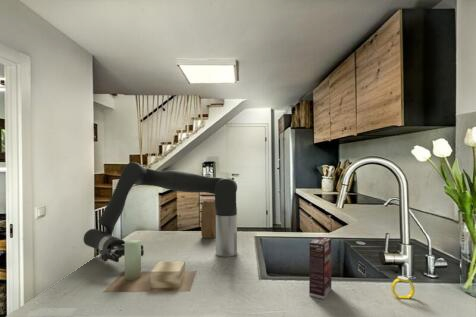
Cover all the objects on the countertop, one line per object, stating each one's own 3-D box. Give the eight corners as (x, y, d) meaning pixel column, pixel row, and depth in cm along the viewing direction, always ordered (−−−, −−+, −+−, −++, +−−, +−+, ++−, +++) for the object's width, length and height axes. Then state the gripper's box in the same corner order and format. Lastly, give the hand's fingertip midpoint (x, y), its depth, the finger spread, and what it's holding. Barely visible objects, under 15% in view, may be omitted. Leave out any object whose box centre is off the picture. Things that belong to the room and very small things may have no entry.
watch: (410, 297, 84) (412, 276, 84) (415, 301, 81) (416, 280, 82) (389, 294, 85) (390, 274, 85) (393, 299, 82) (395, 278, 82)
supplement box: (325, 300, 82) (324, 244, 82) (308, 296, 84) (308, 242, 85) (332, 288, 89) (331, 238, 90) (317, 285, 92) (316, 236, 92)
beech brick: (184, 276, 97) (184, 261, 97) (179, 287, 88) (179, 271, 88) (158, 276, 97) (158, 261, 97) (150, 287, 88) (150, 271, 88)
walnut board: (196, 274, 101) (196, 271, 101) (189, 295, 85) (189, 291, 85) (123, 275, 101) (123, 271, 101) (103, 296, 85) (103, 291, 85)
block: (213, 239, 148) (213, 201, 149) (200, 238, 150) (199, 200, 150) (218, 234, 159) (218, 198, 159) (205, 233, 160) (205, 198, 161)
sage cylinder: (142, 273, 99) (142, 239, 99) (138, 280, 93) (138, 243, 93) (127, 274, 98) (127, 239, 98) (122, 280, 93) (122, 244, 93)
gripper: (92, 240, 104) (109, 249, 93) (130, 233, 114) (149, 241, 103) (92, 261, 104) (109, 272, 93) (130, 252, 114) (149, 262, 103)
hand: (130, 256), depth 98 cm, fingers open, 8 cm apart
